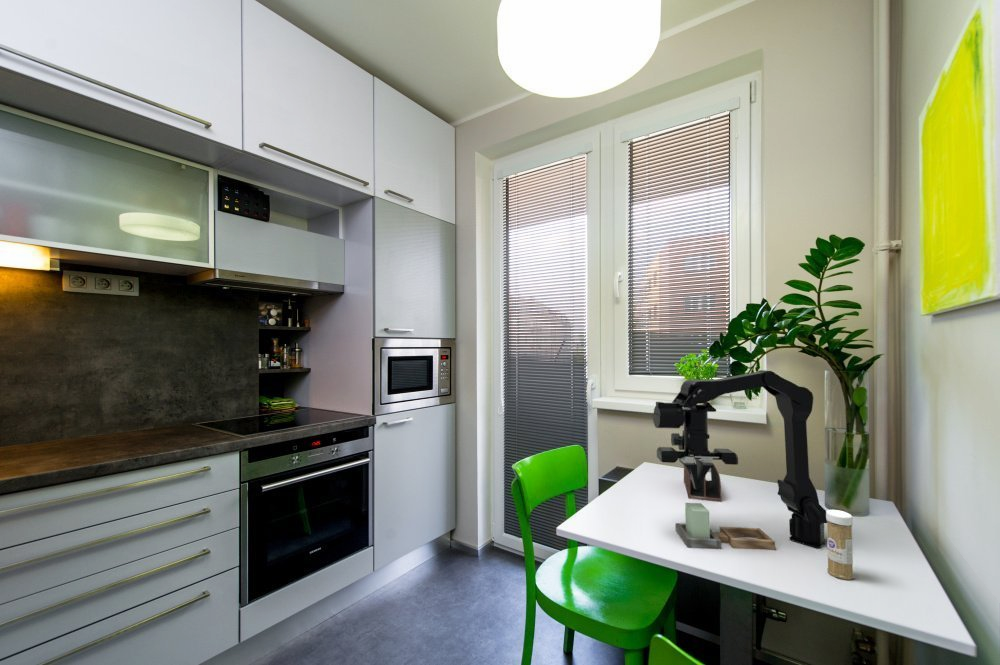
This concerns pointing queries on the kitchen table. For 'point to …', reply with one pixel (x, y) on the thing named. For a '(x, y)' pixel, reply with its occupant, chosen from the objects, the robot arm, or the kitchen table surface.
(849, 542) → the sprinkles bottle
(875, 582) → the kitchen table surface
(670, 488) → the kitchen table surface
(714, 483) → the letter holder
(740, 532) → the joined double square frame
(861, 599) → the kitchen table surface
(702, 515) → the sage peg
